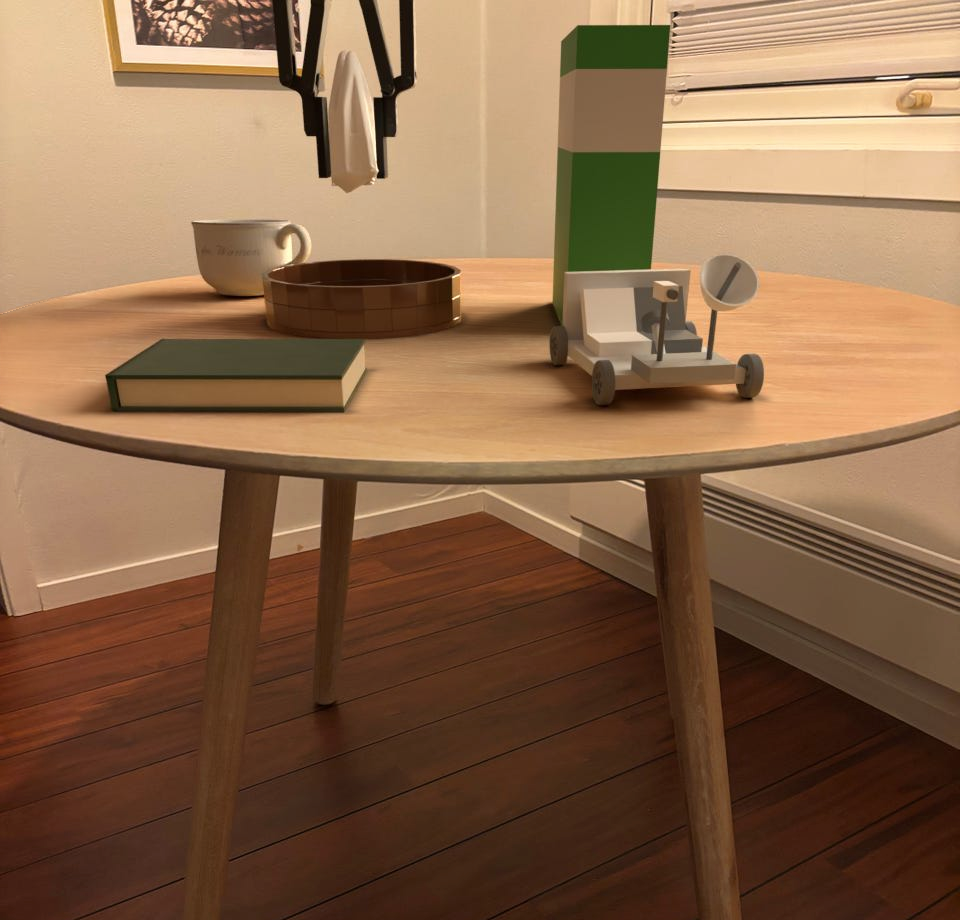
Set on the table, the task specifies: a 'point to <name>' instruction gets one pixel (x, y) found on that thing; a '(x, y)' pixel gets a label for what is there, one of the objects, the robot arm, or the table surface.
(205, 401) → the green book
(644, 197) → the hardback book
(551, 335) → the toy car
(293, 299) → the bowl
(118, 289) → the table surface
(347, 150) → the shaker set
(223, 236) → the teacup
